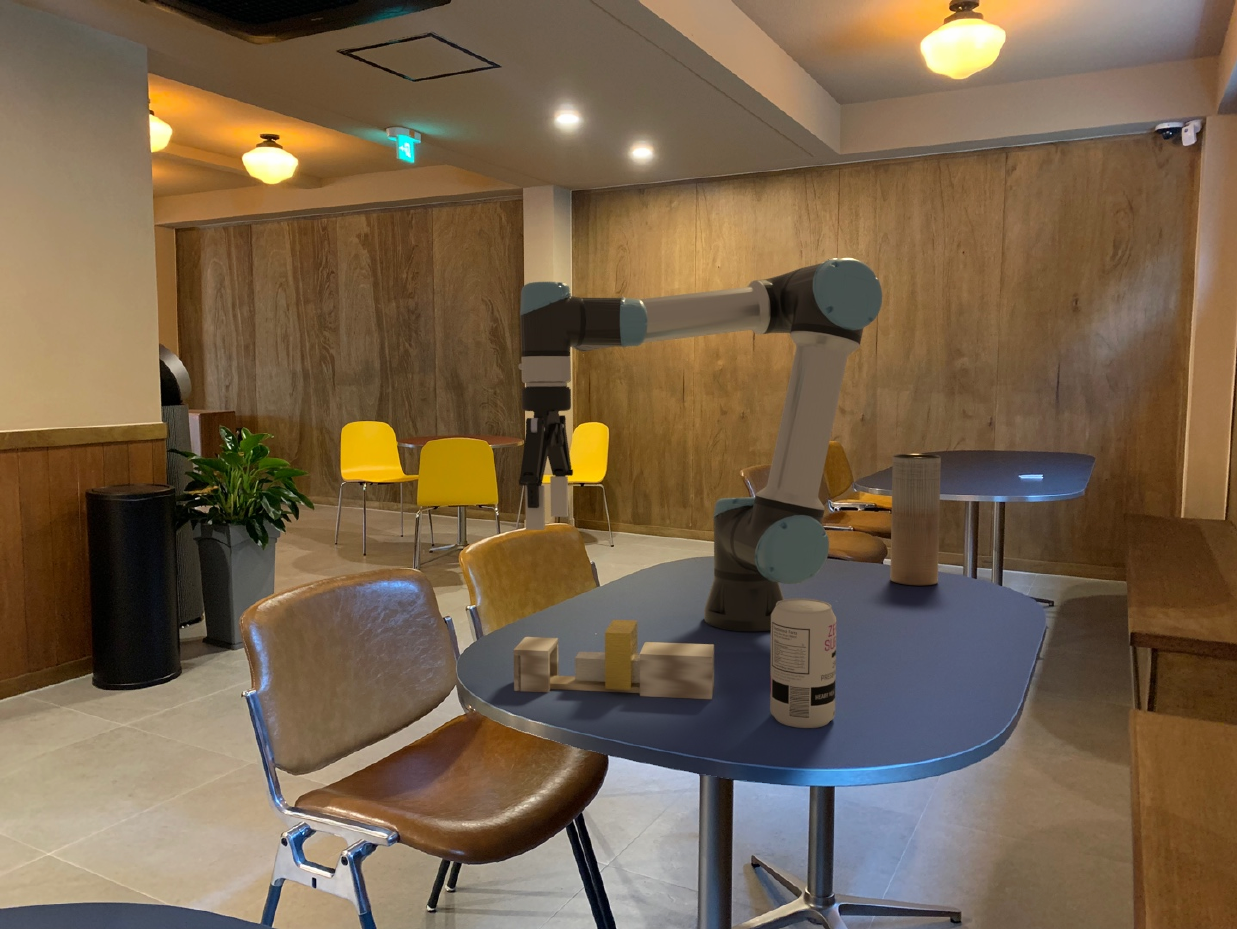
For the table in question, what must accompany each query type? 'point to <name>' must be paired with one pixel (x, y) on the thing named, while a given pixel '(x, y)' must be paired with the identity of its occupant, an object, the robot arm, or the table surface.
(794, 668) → the supplement can
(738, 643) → the table surface
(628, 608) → the table surface
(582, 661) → the golden wooden block
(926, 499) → the vase
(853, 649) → the table surface
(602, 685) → the sleeve and socket
